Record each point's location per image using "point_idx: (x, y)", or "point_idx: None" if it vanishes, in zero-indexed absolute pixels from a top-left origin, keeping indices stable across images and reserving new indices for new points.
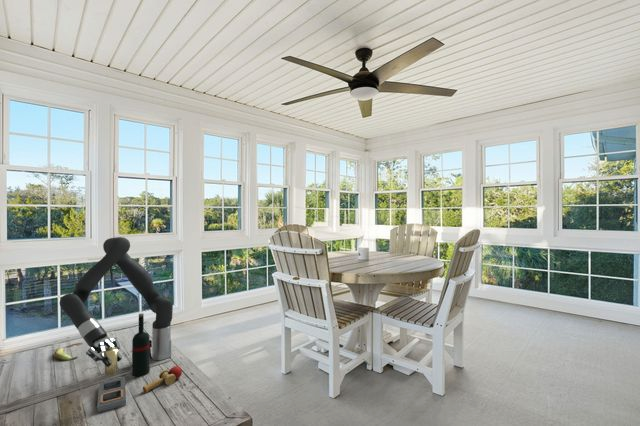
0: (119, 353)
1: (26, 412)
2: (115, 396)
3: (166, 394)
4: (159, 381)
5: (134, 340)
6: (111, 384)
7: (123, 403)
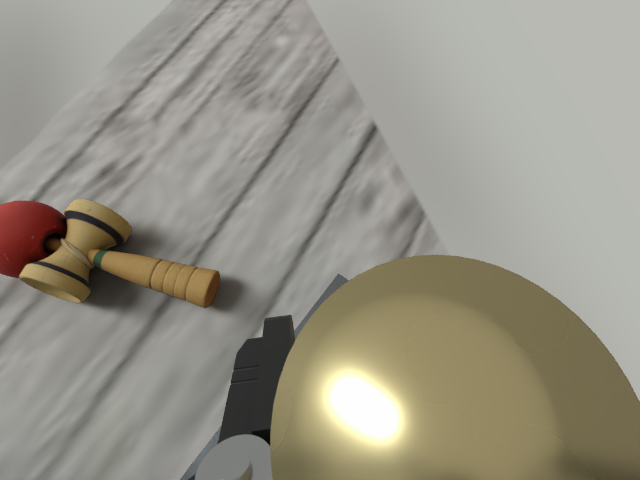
0: (228, 399)
1: None
2: None
3: (203, 184)
4: (133, 254)
5: None
6: None
7: None
